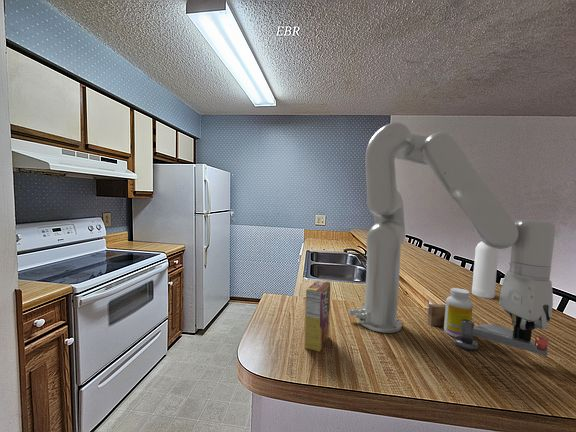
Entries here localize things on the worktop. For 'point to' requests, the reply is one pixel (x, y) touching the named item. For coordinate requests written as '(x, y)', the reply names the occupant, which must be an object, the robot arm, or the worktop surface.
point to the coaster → (497, 329)
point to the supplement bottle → (457, 311)
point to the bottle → (484, 271)
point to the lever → (497, 339)
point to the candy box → (317, 315)
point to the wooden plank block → (436, 314)
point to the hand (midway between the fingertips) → (521, 342)
